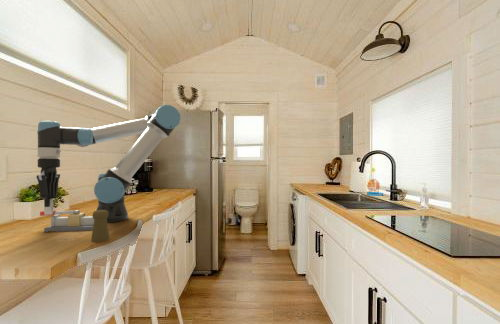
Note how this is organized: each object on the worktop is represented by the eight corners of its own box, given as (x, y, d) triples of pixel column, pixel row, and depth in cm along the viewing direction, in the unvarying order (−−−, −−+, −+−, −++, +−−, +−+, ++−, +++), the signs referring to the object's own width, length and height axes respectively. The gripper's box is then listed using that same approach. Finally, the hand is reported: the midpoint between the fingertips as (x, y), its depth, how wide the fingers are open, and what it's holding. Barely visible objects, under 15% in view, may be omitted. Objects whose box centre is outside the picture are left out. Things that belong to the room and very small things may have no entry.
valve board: (105, 224, 122) (105, 211, 122) (96, 230, 112) (96, 215, 112) (57, 226, 119) (57, 212, 119) (44, 231, 109) (44, 217, 109)
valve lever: (78, 214, 115) (78, 210, 115) (40, 215, 111) (40, 211, 111) (80, 212, 117) (80, 209, 117) (42, 214, 113) (42, 210, 113)
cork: (96, 243, 95) (96, 212, 95) (87, 240, 98) (87, 210, 98) (112, 238, 100) (113, 209, 100) (103, 236, 103) (104, 208, 103)
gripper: (50, 157, 105) (49, 217, 105) (66, 158, 118) (66, 211, 118) (28, 157, 104) (28, 217, 104) (48, 158, 117) (47, 211, 117)
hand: (48, 214), depth 111 cm, fingers closed
